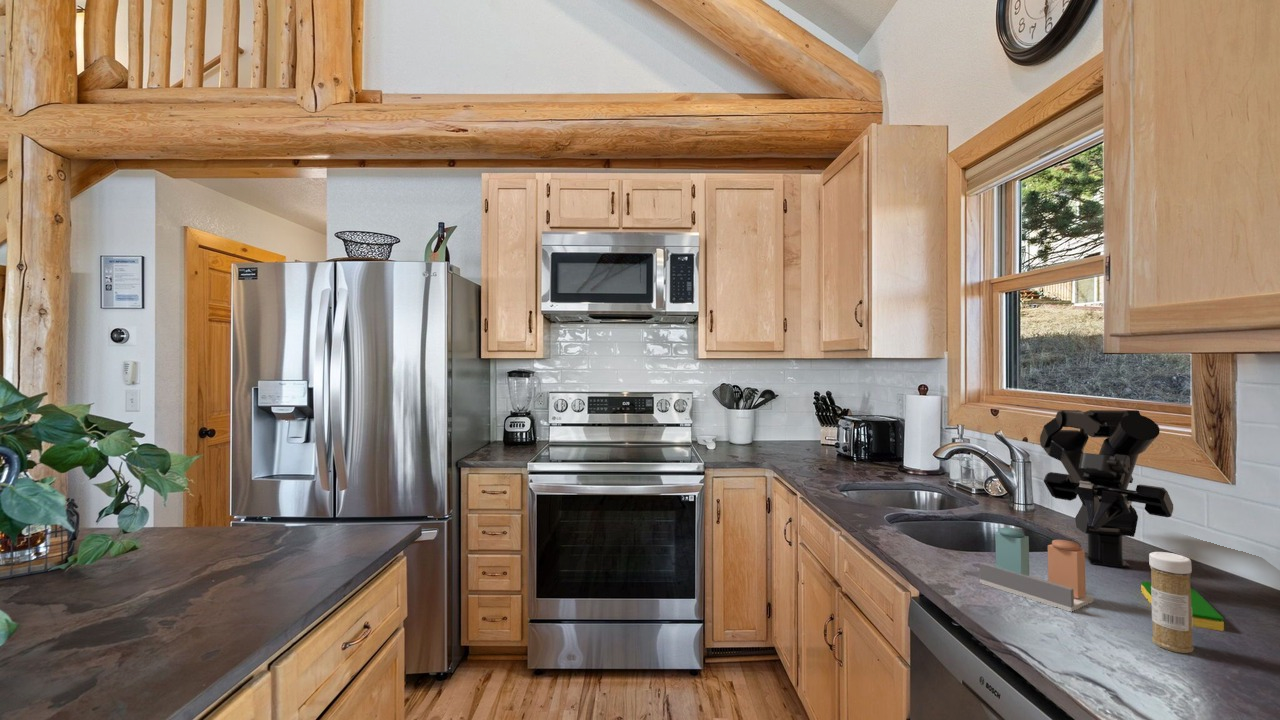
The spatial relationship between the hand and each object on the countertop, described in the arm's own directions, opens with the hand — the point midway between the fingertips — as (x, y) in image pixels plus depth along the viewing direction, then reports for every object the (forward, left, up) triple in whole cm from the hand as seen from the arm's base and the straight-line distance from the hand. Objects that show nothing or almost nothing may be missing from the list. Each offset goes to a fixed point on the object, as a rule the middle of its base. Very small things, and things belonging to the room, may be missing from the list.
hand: (1091, 528), depth 104 cm
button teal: (+3, -13, -10) cm, 17 cm away
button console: (+7, -10, -11) cm, 17 cm away
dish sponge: (+6, +10, -12) cm, 17 cm away
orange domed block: (+8, -6, -10) cm, 14 cm away
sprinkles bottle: (+22, +4, -11) cm, 25 cm away
